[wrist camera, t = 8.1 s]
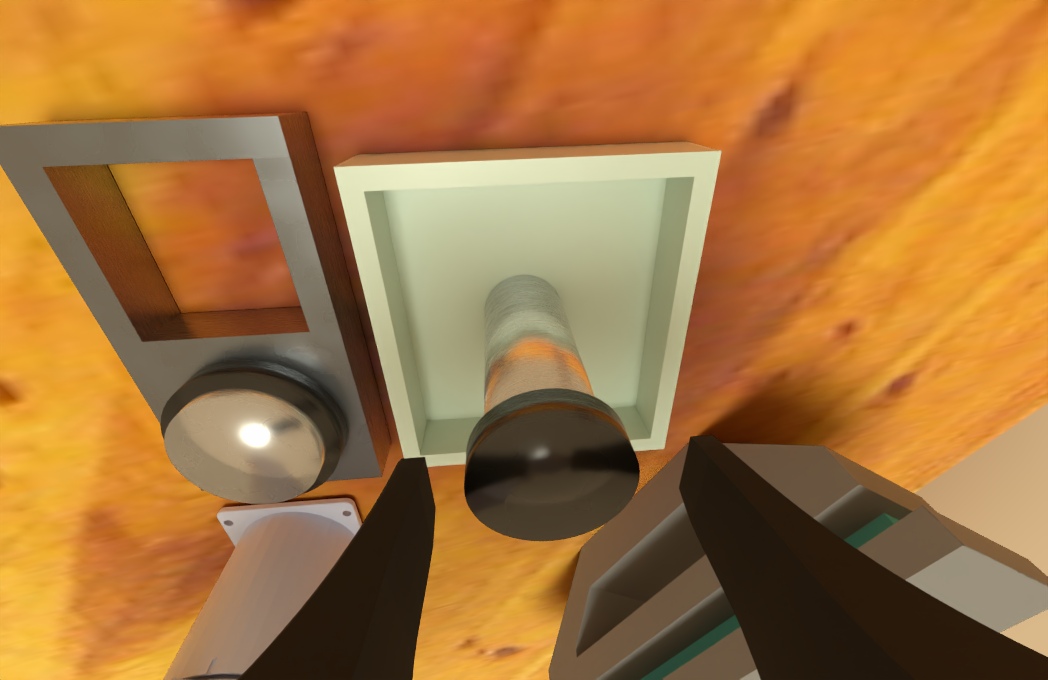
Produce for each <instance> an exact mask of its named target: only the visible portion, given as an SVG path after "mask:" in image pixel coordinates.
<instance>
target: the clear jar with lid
mask: <svg viewBox="0 0 1048 680" xmlns="http://www.w3.org/2000/svg"><path fill="white" fill-rule="evenodd" d="M639 473H640V470H639V463H638V460H637V457H636V455H635V452H634V450H633V447H632V445H631V442H630V440H629V437H628V435H627V432H626V430H625V427H624V425H623V423H622V421H621V419H620V418H619V416H618V415H617V413H616V412H615V411H614V410H613V409H612V408H611V407H610V406H609V405H607V404H606V403H605V402H603V401H602V400H600V399H598V398H596V397H595V396H594V394H593V391H592V388H591V385H590V382H589V379H588V376H587V374H586V371H585V368H584V365H583V362H582V359H581V356H580V354H579V351H578V348H577V345H576V342H575V339H574V336H573V333H572V331H571V328H570V325H569V322H568V319H567V316H566V313H565V311H564V308H563V305H562V302H561V299H560V297H559V294H558V292H557V291H556V289H555V288H554V287H553V286H552V285H551V284H550V283H549V282H547V281H546V280H544V279H542V278H540V277H537V276H533V275H516V276H512V277H509V278H507V279H505V280H503V281H501V282H500V283H499V284H497V285H496V286H495V287H494V288H493V290H492V291H491V292H490V294H489V296H488V298H487V300H486V304H485V367H484V416H483V417H482V418H481V419H480V420H479V421H478V422H477V424H476V425H475V427H474V428H473V430H472V432H471V434H470V436H469V439H468V443H467V449H466V464H465V482H464V490H465V497H466V501H467V503H468V506H469V508H470V510H471V511H472V512H473V514H474V515H475V516H476V517H477V518H478V519H479V520H480V521H481V522H482V523H483V524H485V525H486V526H487V527H489V528H491V529H492V530H494V531H496V532H498V533H501V534H503V535H506V536H509V537H513V538H517V539H522V540H530V541H553V540H561V539H566V538H571V537H575V536H578V535H581V534H585V533H587V532H589V531H592V530H594V529H596V528H598V527H600V526H602V525H604V524H605V523H607V522H608V521H610V520H611V519H613V518H614V517H615V516H617V515H618V514H619V513H620V512H621V511H622V510H623V509H624V508H625V507H626V505H627V504H628V503H629V502H630V500H631V499H632V497H633V495H634V494H635V491H636V489H637V486H638V482H639Z"/></svg>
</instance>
